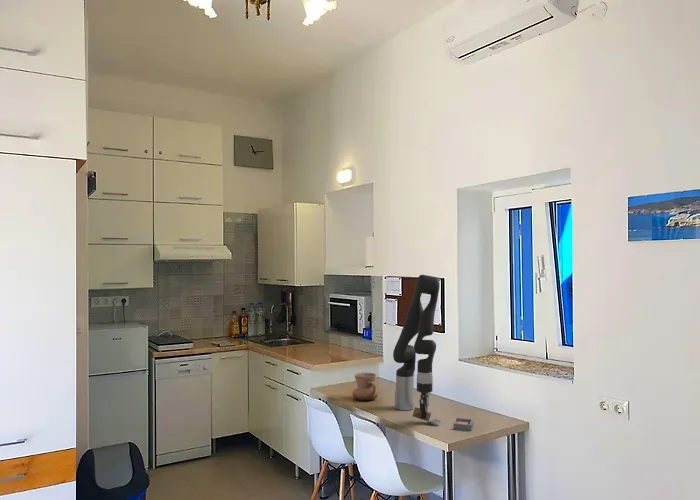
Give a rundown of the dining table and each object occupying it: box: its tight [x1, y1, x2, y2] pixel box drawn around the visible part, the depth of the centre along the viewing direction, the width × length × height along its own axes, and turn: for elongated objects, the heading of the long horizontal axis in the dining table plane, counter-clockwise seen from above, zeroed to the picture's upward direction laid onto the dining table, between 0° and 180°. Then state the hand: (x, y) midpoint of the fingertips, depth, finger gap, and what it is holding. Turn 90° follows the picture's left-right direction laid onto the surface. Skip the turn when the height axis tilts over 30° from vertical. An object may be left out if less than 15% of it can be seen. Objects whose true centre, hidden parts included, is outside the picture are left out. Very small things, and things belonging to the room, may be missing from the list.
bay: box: [453, 417, 475, 432], centre depth 256 cm, size 8×11×2 cm
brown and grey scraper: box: [412, 406, 442, 427], centre depth 262 cm, size 13×7×4 cm, turn 73°
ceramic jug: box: [351, 372, 379, 402], centre depth 309 cm, size 18×14×14 cm
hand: (424, 417), depth 262 cm, fingers closed on brown and grey scraper, 2 cm apart
